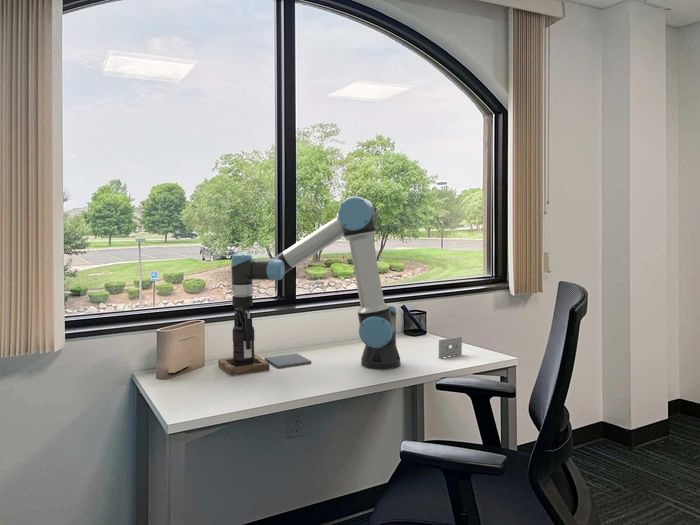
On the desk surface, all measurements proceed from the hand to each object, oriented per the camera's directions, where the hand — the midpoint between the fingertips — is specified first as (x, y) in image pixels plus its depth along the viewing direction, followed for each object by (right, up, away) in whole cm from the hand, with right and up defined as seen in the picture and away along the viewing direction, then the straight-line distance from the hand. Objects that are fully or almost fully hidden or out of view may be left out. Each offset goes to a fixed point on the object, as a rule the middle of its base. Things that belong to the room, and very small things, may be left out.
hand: (244, 355), depth 211 cm
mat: (+15, -4, +9) cm, 19 cm away
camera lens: (0, -4, 0) cm, 4 cm away
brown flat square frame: (0, -5, +1) cm, 5 cm away
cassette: (+81, -4, +17) cm, 83 cm away
